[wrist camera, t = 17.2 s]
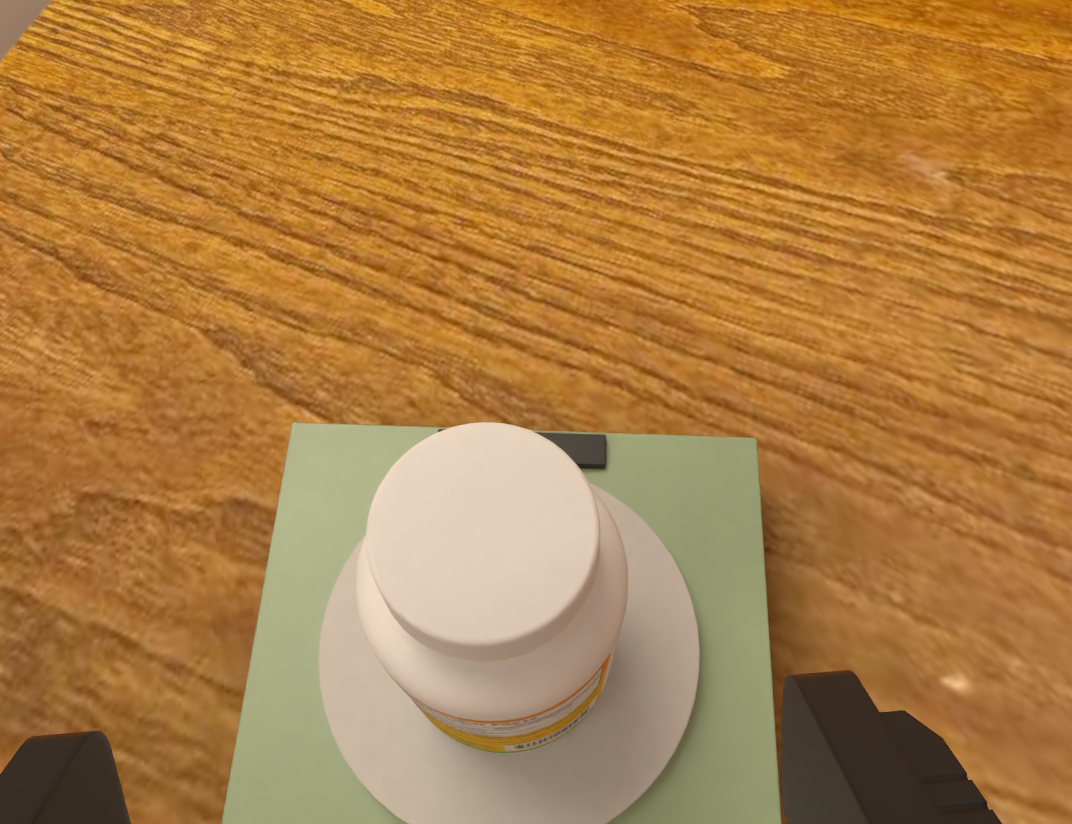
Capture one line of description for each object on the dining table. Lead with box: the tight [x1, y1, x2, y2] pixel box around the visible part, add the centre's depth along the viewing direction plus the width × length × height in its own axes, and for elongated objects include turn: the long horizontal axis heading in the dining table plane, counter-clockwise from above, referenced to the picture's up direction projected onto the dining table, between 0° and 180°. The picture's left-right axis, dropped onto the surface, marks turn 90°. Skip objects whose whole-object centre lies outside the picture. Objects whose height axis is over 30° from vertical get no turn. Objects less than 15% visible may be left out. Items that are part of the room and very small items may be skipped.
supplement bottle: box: [355, 422, 628, 754], centre depth 20 cm, size 5×5×10 cm
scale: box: [221, 422, 781, 824], centre depth 26 cm, size 14×13×4 cm
